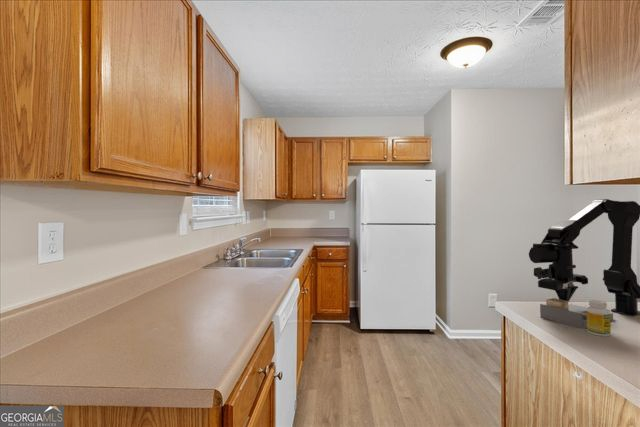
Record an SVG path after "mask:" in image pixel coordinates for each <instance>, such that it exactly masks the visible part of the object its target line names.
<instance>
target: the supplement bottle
mask: <svg viewBox="0 0 640 427" xmlns="http://www.w3.org/2000/svg"><path fill="white" fill-rule="evenodd" d="M588 305H589V306H588V307H587V327H586V330H587V332H588V333H589V334H592V335H594V336H598V337H609V336H611V333H612V332H611V330H612V329H611V327H612V326H611V325H612V324H611V320H610V313H611V312H610V311H611V310H609V309H607V307H608V303H607V302H606V301H603V300H599V299H590V300H589V301H588Z"/></svg>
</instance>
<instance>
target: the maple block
mask: <svg viewBox="0 0 640 427" xmlns="http://www.w3.org/2000/svg"><path fill="white" fill-rule="evenodd" d="M545 305H548V306H553V307H557V308H561V309H565V310H569V307H568V305H569V302H568V301H565V300H561V299H559V298H555V297H553V298H549V299H545Z"/></svg>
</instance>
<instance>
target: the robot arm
mask: <svg viewBox="0 0 640 427" xmlns="http://www.w3.org/2000/svg"><path fill="white" fill-rule="evenodd" d="M603 214H607V218H608V220H609V222H610V223H611V225H612V229H613V230H612V231H613V232H612V250H611V265H610V266H609V268H608V269H603V278H602V281H603V282H604V286H606V289H607V292H608V293H610V294H614V301H615V302H614V304H615V305H614V306H615V308H612V309H610V311H611V312H612V313H613V312H614V313H619V314H621V315H622V314H623V315H626V316H627V315H628V316H633V317H634V316H638V315H640V310H639V308H638V299H639V300H640V284H638V277H637V274H636V273H635V271H634V270H633V268H632V250H633V249H632V248H633V232H634V230H633V229H634V226H635V225H636V223H637V222H638V221H639V220H640V204H639V203H638V202H636V201H634V200H631V201H629V200H627V201H625V200H624V201H620V200H613V199H607V198H602V199H601V198H600V199H594V200H592V201H591V202H590V204H588V205H587V206H586V207H584V208H582V210H580V211H579V212H577V213H575V214H574V215H573V216H572V217H570V218H569V219H567V220H566V221H561V222H558V223H557V224H554V225H552V226H550V227H549V228H548V230H547V233H546V235H545V236H544V237H543V239H542V240H541V243H532V247H530V249H529V252H528V257H529V260H530V261H531V262H532V263H534V264H547V263H549V265H548V267H547V268H542V267H540V266H539V267H534V268H533V275H534V277H536V278H537V280H538V281H537V287H538V288H540V289H546V290H551V291H555V293H556V295H557V297H558V298H557V299H561V300H565V301H568V303H570V300H571V298H572V297H573V296H574V294H575V292H576V291H577V290H578V288H579V286H578V285H577V286H576V285H575V283H580V284H581V285H588V284H589V278H588V277H587V275H584V274H578V273H574V269H576V267H577V266H576V264H574V262H573V259H574V258H573V249H574V250H576V249H579V246H578V245H577V244H575V243H574V241H575V240H576V239H577V238H578V237H579V236H580V234H581V231H582V230H583V229H584V228H585V227H586V226H588V225H589V224H591V223H593V221H594V220H596V219H598V217H600V216H602V215H603Z"/></svg>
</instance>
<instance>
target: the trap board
mask: <svg viewBox="0 0 640 427" xmlns="http://www.w3.org/2000/svg"><path fill="white" fill-rule="evenodd" d="M568 307H569V310H565V309H561V308H557V307H553V306H548V305H546V304H544V303H540V304H539V312H540V313H539V314H540V316H539V317H540V318H542V319H543V318H544V319H547V320H550V321H553V322H554V321H555V322H557V323H562V324H564V325H569V326H572V327H575V328H579V329H585V328H587V308H588V307H587V306H582V305H577V304H573V303H568ZM613 319H614V313H613V312H610V321H611V320H613Z"/></svg>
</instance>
